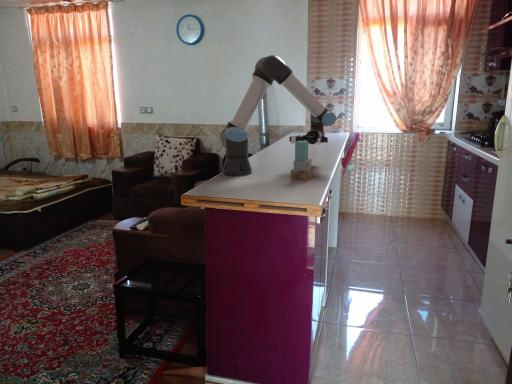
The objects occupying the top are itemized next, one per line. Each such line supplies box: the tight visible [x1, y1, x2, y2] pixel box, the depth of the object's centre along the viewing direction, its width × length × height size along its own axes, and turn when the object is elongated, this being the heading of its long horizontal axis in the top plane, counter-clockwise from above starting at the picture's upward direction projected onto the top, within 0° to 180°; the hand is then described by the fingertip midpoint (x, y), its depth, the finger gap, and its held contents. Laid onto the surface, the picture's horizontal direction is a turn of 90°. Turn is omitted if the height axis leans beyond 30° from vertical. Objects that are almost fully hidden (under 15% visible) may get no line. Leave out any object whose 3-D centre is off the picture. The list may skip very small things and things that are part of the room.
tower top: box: [293, 158, 312, 171], centre depth 194 cm, size 8×8×4 cm
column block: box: [294, 141, 309, 161], centre depth 192 cm, size 5×5×9 cm
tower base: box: [290, 167, 314, 181], centre depth 195 cm, size 9×9×4 cm
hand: (304, 141), depth 201 cm, fingers open, 13 cm apart
